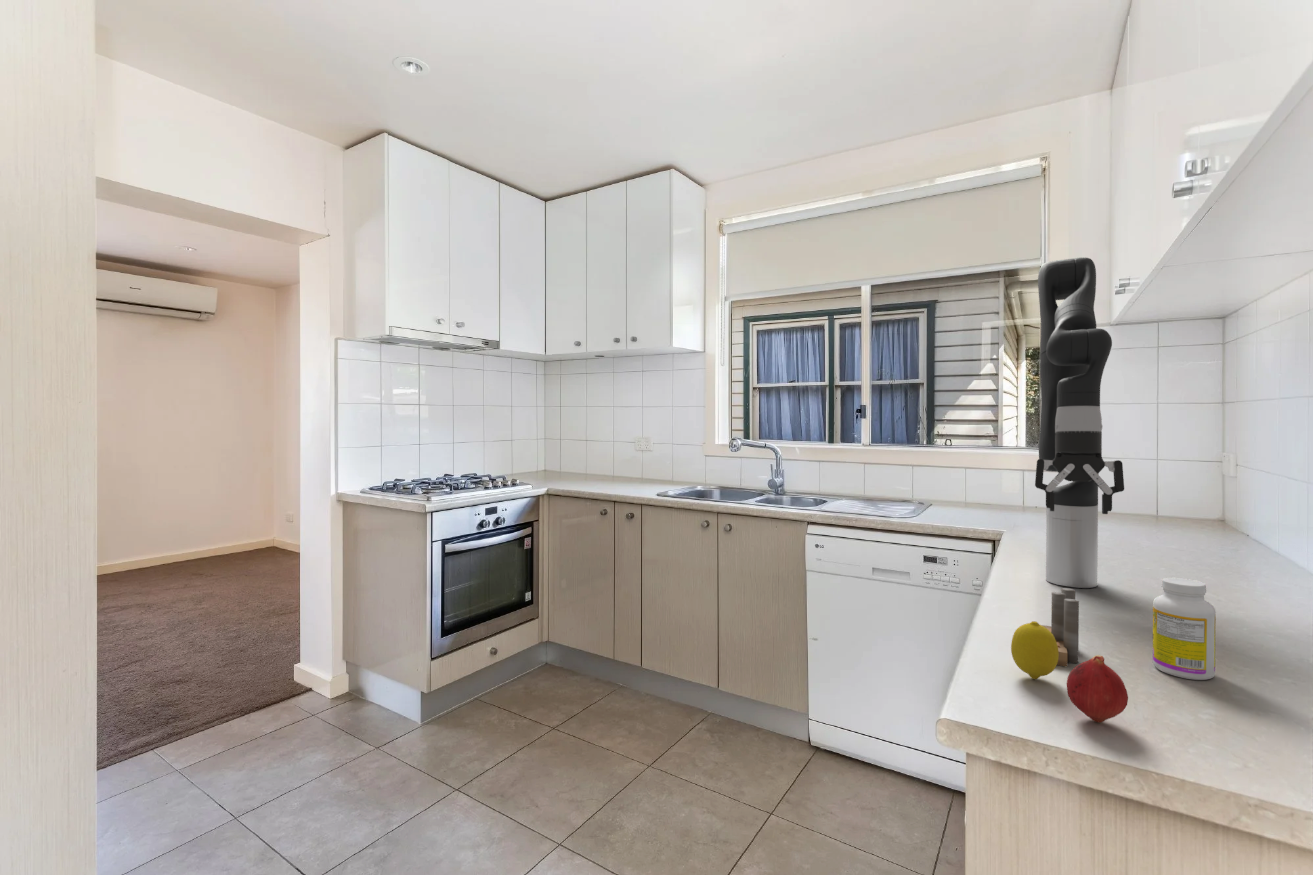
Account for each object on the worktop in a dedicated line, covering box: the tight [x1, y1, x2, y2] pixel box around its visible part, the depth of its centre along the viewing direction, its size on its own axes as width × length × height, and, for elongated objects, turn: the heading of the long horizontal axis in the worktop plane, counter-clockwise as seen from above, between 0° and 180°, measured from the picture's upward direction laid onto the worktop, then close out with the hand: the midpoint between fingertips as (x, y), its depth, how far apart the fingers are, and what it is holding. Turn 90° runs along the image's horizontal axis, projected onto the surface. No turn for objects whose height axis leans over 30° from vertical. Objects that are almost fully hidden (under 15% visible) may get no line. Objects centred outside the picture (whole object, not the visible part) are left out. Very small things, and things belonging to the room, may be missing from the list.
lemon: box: [1010, 621, 1059, 680], centre depth 82 cm, size 6×6×8 cm
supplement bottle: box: [1152, 576, 1217, 681], centre depth 84 cm, size 7×7×13 cm
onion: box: [1065, 654, 1129, 724], centre depth 71 cm, size 6×6×8 cm
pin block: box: [1041, 587, 1080, 667], centre depth 92 cm, size 12×6×9 cm, turn 149°
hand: (1077, 512), depth 118 cm, fingers open, 8 cm apart
